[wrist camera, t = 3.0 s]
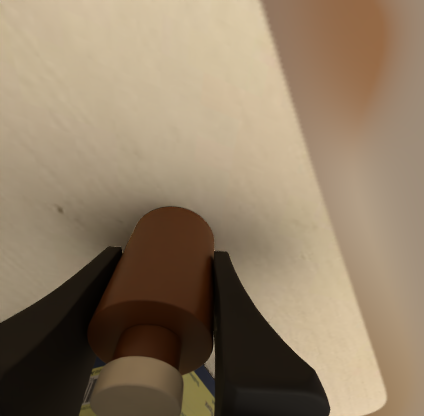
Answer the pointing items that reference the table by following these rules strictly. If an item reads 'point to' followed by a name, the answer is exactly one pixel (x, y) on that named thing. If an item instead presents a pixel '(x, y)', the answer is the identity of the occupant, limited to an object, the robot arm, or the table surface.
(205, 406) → the protein box
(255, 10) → the table surface
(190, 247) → the brown bottle
